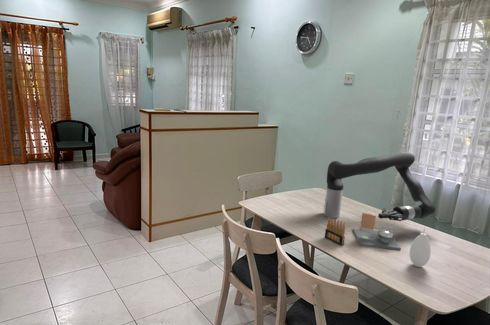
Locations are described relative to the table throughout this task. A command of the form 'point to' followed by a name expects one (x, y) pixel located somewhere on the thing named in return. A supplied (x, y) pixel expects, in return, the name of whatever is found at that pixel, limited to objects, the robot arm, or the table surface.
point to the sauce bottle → (420, 250)
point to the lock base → (375, 240)
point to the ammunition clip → (335, 232)
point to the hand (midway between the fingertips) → (379, 216)
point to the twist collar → (369, 224)
